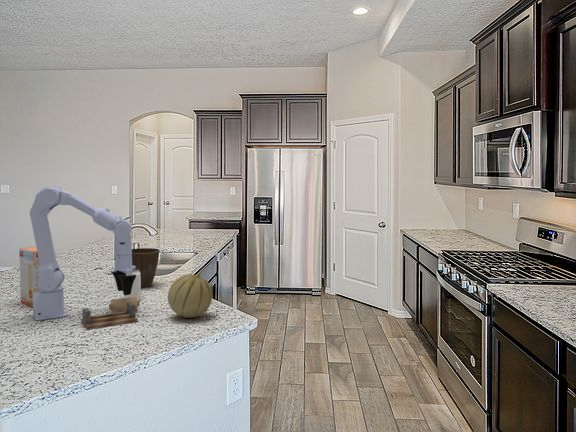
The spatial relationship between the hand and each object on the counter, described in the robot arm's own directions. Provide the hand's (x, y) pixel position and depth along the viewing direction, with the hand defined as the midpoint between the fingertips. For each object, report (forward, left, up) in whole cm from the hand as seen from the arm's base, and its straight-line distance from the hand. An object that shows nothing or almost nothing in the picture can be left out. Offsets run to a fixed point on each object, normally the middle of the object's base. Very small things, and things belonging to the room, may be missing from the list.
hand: (124, 292), depth 170 cm
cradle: (-8, -10, -7) cm, 14 cm away
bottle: (0, 0, -7) cm, 7 cm away
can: (+7, +15, -7) cm, 18 cm away
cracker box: (-25, +30, -7) cm, 39 cm away
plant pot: (+18, +38, -7) cm, 43 cm away
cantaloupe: (+17, -19, -7) cm, 26 cm away
